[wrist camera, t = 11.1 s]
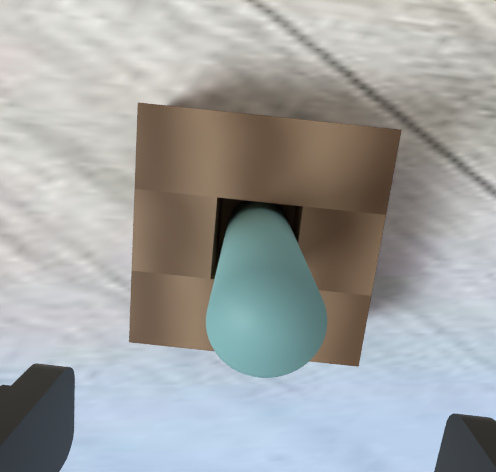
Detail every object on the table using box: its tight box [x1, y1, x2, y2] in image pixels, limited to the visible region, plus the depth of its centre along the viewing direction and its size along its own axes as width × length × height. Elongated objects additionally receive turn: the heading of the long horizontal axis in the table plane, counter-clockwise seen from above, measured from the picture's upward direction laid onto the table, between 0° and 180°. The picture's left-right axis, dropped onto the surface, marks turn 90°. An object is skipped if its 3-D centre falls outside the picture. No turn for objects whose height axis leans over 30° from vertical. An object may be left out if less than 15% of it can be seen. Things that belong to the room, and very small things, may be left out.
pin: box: [206, 200, 327, 378], centre depth 21 cm, size 4×4×15 cm
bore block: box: [129, 103, 401, 366], centre depth 27 cm, size 14×14×6 cm
